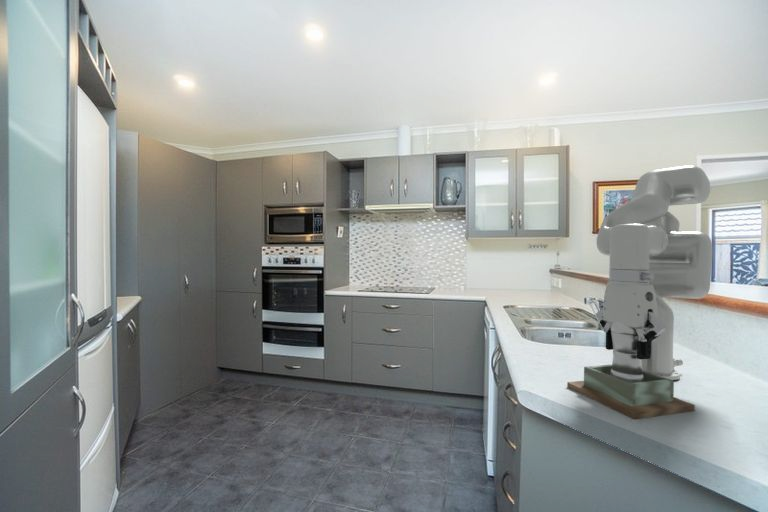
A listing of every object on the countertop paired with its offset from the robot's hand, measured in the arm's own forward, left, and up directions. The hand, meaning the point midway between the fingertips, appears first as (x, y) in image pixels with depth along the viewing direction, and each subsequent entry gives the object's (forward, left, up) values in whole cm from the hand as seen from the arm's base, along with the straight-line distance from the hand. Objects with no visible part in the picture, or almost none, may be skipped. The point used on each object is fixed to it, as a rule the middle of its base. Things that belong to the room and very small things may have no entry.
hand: (627, 353), depth 78 cm
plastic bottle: (0, 0, -9) cm, 9 cm away
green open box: (0, 0, -10) cm, 10 cm away
